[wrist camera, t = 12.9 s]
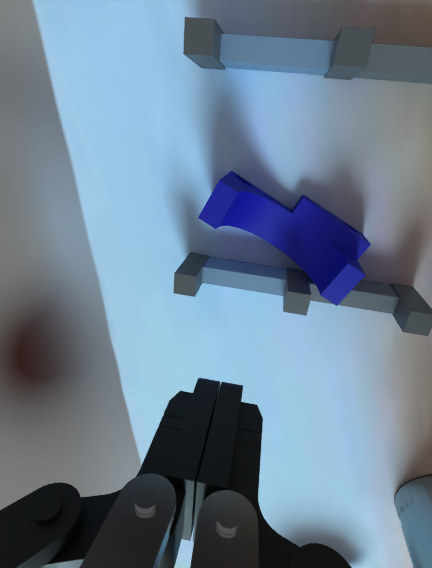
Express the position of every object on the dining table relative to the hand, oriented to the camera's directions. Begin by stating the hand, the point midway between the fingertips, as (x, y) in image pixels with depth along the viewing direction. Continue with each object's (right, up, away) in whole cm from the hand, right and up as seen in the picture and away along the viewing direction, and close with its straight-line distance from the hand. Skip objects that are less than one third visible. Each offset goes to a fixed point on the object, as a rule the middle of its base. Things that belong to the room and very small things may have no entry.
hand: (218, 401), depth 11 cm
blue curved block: (+6, +10, +17) cm, 21 cm away
